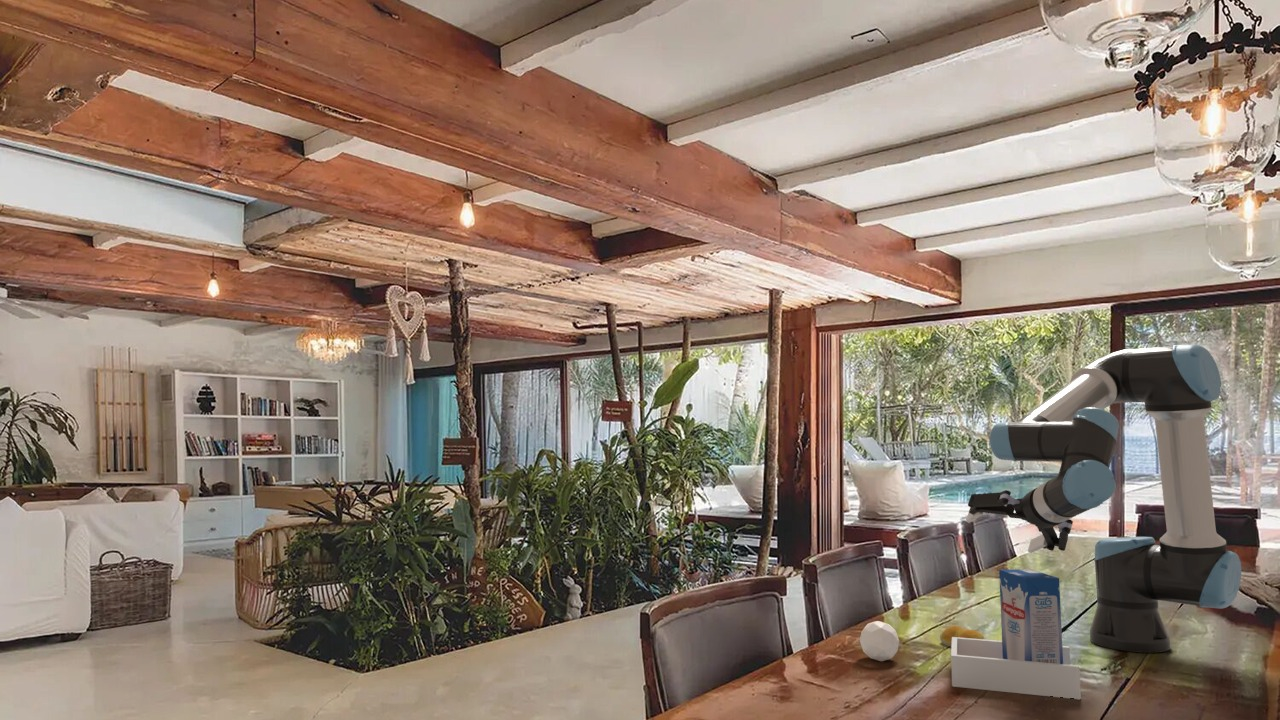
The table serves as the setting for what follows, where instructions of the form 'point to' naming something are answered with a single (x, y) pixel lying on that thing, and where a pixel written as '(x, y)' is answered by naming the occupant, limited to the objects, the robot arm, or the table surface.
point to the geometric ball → (879, 641)
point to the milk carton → (1030, 616)
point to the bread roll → (958, 634)
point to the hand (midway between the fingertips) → (999, 531)
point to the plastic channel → (1010, 671)
